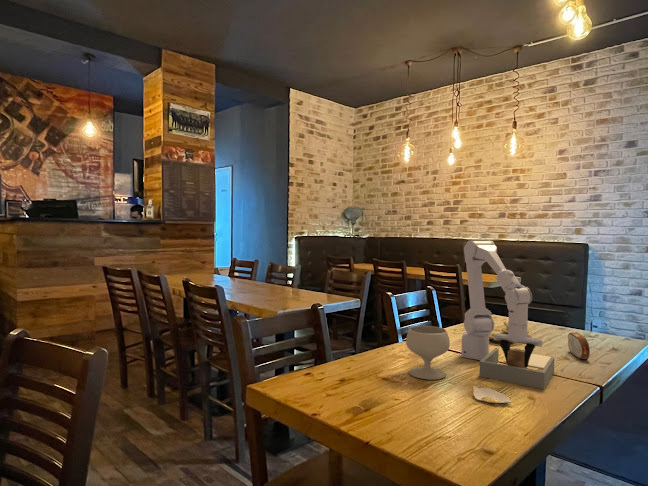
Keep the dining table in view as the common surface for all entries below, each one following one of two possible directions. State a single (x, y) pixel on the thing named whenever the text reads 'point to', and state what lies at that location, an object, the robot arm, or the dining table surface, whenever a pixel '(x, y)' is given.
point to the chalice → (427, 349)
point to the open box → (515, 372)
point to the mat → (537, 361)
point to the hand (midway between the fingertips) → (517, 364)
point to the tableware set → (505, 331)
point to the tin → (578, 345)
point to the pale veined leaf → (490, 395)
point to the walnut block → (516, 358)
